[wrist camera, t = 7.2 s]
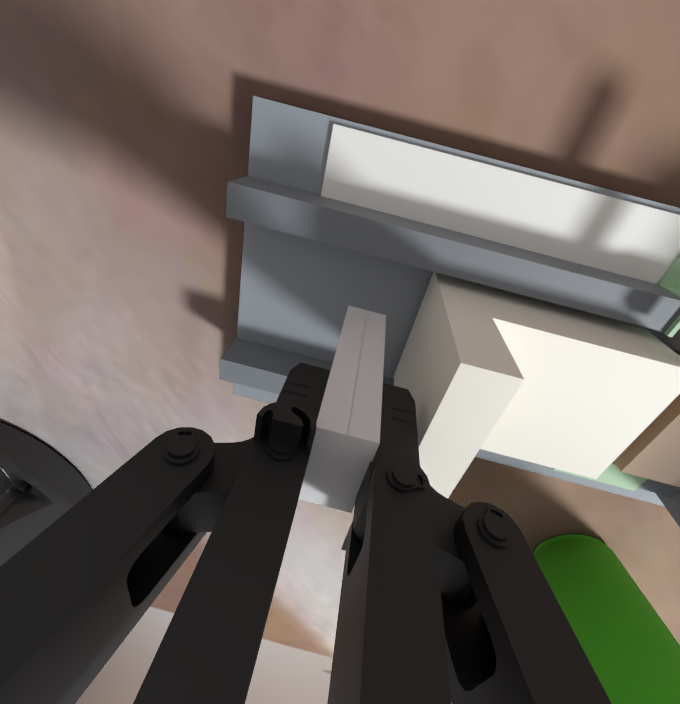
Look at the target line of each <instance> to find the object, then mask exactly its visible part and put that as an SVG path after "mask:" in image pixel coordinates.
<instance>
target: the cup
mask: <svg viewBox="0 0 680 704" xmlns="http://www.w3.org/2000/svg"><path fill="white" fill-rule="evenodd" d="M534 557H535V559H536V561H537V563H538V565H539V567H540V569H541V570H542V572H543V574H544V576H545V578H546V580H547V582H548V584H549V586H550V587H551V589H552V591H553V593H554V595H555V597H556V599H557V601H558V603H559V605H560V606H561V608H562V610H563V612H564V614H565V616H566V618H567V620H568V622H569V624H570V625H571V627H572V629H573V631H574V633H575V635H576V637H577V639H578V641H579V643H580V644H581V646H582V648H583V650H584V652H585V654H586V656H587V658H588V660H589V662H590V663H591V665H592V667H593V669H594V671H595V673H596V675H597V677H598V679H599V681H600V682H601V684H602V686H603V688H604V690H605V692H606V694H607V696H608V698H609V700H610V701H611V703H612V704H680V645H679V644H678V642H677V641H676V639H675V638H674V637H673V635H672V634H671V632H670V631H669V630H668V628H667V627H666V625H665V624H664V623H663V621H662V620H661V618H660V617H659V616H658V614H657V613H656V611H655V610H654V609H653V607H652V606H651V604H650V603H649V601H648V600H647V599H646V597H645V596H644V594H643V593H642V592H641V590H640V589H639V587H638V586H637V585H636V583H635V582H634V580H633V579H632V578H631V576H630V575H629V573H628V572H627V571H626V569H625V568H624V566H623V565H622V563H621V562H620V561H619V559H618V558H617V556H616V555H615V554H614V552H613V551H612V550H611V549H610V548H608V547H607V546H606V545H605V544H604V543H603V542H602V541H600V540H599V539H596V538H593V537H590V536H586V535H576V534H571V535H561V536H556V537H553V538H550V539H547V540H545V541H544V542H542V543H540V544H539V545H538V546H537V547H536V549H535V550H534Z"/></svg>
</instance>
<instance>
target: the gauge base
mask: <svg viewBox="0 0 680 704" xmlns="http://www.w3.org/2000/svg"><path fill="white" fill-rule="evenodd" d="M226 217H227V218H231V219H235V220H239V221H242V222H245V224H244V239H243V254H242V268H241V283H240V298H239V313H238V328H237V338H236V339H235V341H234V342H233V343H232V344H231V346H230V347H229V348H228V350H227V351H226V352H225V353H224V355H223V356H222V357H221V359H220V379H222V380H225V381H229V382H233V383H234V387H233V394H236V395H240V396H244V397H248V398H251V399H255V400H259V401H263V402H267V403H274V402H276V401H277V399H278V396H279V394H280V392H281V390H282V387H283V385H284V383H285V381H286V378H287V376H288V374H289V372H290V370H291V369H292V368H294V367H295V366H296V365H298V364H299V363H300V362H302V363H305V364H309V365H313V366H317V367H321V368H324V369H328V370H331V367H332V364H333V360H334V356H335V353H336V349H337V346H338V342H339V338H340V335H341V331H342V327H343V324H344V320H345V316H346V313H347V309H348V305H349V306H353V307H356V308H360V309H364V310H368V311H372V312H375V313H379V314H383V315H386V330H385V349H384V369H383V383H386V384H390V385H393V386H394V374H395V372H396V369H397V366H398V364H399V361H400V358H401V356H402V353H403V351H404V348H405V345H406V343H407V340H408V337H409V335H410V332H411V330H412V327H413V324H414V322H415V319H416V317H417V314H418V311H419V309H420V306H421V303H422V301H423V298H424V296H425V293H426V290H427V288H428V285H429V283H430V280H431V277H432V275H433V272H437V273H441V274H444V275H448V276H452V277H456V278H460V279H463V280H467V281H471V282H475V283H479V284H482V285H486V286H490V287H494V288H498V289H501V290H505V291H509V292H513V293H517V294H521V295H524V296H528V297H532V298H536V299H540V300H543V301H547V302H551V303H555V304H559V305H562V306H566V307H570V308H574V309H578V310H581V311H585V312H589V313H593V314H597V315H600V316H604V317H608V318H612V319H616V320H620V321H623V322H627V323H631V324H635V325H639V326H642V327H643V328H645V329H646V330H647V331H649V332H650V333H651V334H652V335H654V336H655V337H656V338H657V339H659V340H660V341H661V342H663V343H664V344H665V345H666V346H668V347H669V348H671V349H675V350H677V349H676V348H675V347H673V346H672V345H671V344H669V343H668V341H669V340H670V339H671V338H672V337H673V336H674V334H675V333H676V332H677V331H678V330H679V329H680V208H678V207H674V206H670V205H666V204H662V203H659V202H655V201H651V200H647V199H643V198H640V197H636V196H632V195H628V194H624V193H621V192H617V191H613V190H609V189H605V188H602V187H598V186H594V185H590V184H587V183H583V182H579V181H575V180H571V179H568V178H564V177H560V176H556V175H552V174H549V173H545V172H541V171H537V170H533V169H530V168H526V167H522V166H518V165H514V164H511V163H507V162H503V161H499V160H495V159H492V158H488V157H484V156H480V155H477V154H473V153H469V152H465V151H461V150H458V149H454V148H450V147H446V146H442V145H439V144H435V143H431V142H427V141H423V140H420V139H416V138H412V137H408V136H404V135H401V134H397V133H393V132H389V131H385V130H382V129H378V128H374V127H370V126H366V125H363V124H359V123H355V122H351V121H348V120H344V119H340V118H336V117H332V116H329V115H325V114H321V113H317V112H313V111H310V110H306V109H302V108H298V107H294V106H291V105H287V104H283V103H279V102H275V101H272V100H268V99H264V98H260V97H256V96H253V106H252V120H251V135H250V150H249V165H248V176H245V177H241V178H238V179H234V180H231V181H227V198H226ZM475 457H477V458H481V459H485V460H489V461H493V462H496V463H500V464H504V465H508V466H512V467H516V468H519V469H523V470H527V471H531V472H535V473H539V474H542V475H546V476H550V477H554V478H558V479H562V480H565V481H569V482H573V483H577V484H581V485H585V486H588V487H592V488H596V489H600V490H604V491H608V492H611V493H615V494H619V495H623V496H627V497H630V498H634V499H638V500H642V501H646V502H650V503H653V504H657V505H661V506H665V507H666V509H667V510H668V511H669V513H670V514H671V515H672V517H673V518H674V520H675V521H676V522H677V524H678V525H679V527H680V487H677V486H673V485H670V484H666V483H662V482H658V481H654V480H650V479H647V478H643V477H639V476H635V475H631V474H628V473H624V472H621V471H620V470H619V468H618V467H617V465H616V464H615V462H614V461H613V462H612V463H611V464H610V465H609V467H608V468H607V469H606V470H605V471H604V472H603V473H602V474H601V475H600V476H599V477H598V478H597V479H593V478H589V477H586V476H582V475H578V474H574V473H570V472H566V471H563V470H559V469H555V468H551V467H547V466H544V465H540V464H536V463H532V462H528V461H524V460H521V459H517V458H513V457H509V456H505V455H501V454H498V453H494V452H490V451H486V450H482V449H479V451H478V453H477V454H476V456H475Z"/></svg>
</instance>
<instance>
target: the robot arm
mask: <svg viewBox="0 0 680 704" xmlns="http://www.w3.org/2000/svg"><path fill="white" fill-rule="evenodd" d="M385 330H386V315H383V314H379V313H375V312H372V311H368V310H364V309H360V308H356V307H353V306H349V305H348V309H347V313H346V316H345V320H344V324H343V327H342V331H341V335H340V338H339V342H338V346H337V349H336V353H335V356H334V360H333V364H332V367H331V370H328V369H324V368H321V367H317V366H313V365H309V364H305V363H302V362H300V363H299V364H298V365H296V366H295V367H294V368H292V369H291V370H290V372H289V374H288V376H287V378H286V381H285V383H284V385H283V387H282V390H281V392H280V394H279V396H278V399H277V401H276V402H274V403H271V404H269V405H267V406H265V407H263V408H262V409H261V410H260V412H259V413H258V414H257V418H256V426H255V434H254V437H253V438H251V439H249V440H245V441H242V442H235V443H214V442H213V440H212V438H211V436H209V435H208V434H207V433H205V432H204V431H203V430H199V429H196V428H192V427H180V428H176V429H172V430H169V431H166V432H165V433H163V434H161V435H160V436H158V437H156V438H155V439H154V440H153V441H152V442H150V443H149V444H148V445H147V446H145V447H144V448H143V449H142V450H141V451H139V452H138V453H137V454H136V455H135V456H133V457H132V458H131V459H130V460H129V461H127V462H126V463H125V464H124V465H122V466H121V467H120V468H119V469H118V470H116V471H115V472H114V473H113V474H112V475H110V476H109V477H108V478H107V479H106V480H104V481H103V482H102V483H101V484H99V485H98V486H97V487H96V488H95V489H93V490H91V488H90V486H89V485H88V484H87V482H86V481H85V480H84V478H83V477H82V476H81V475H80V474H79V473H78V472H77V471H76V470H75V469H74V468H73V467H72V466H71V465H70V464H69V463H68V462H67V461H66V460H64V459H63V458H62V457H61V456H60V455H58V454H57V453H56V452H54V451H53V450H51V449H50V448H49V447H47V446H46V445H44V444H42V443H41V442H39V441H38V440H36V439H34V438H32V437H31V436H29V435H27V434H25V433H23V432H21V431H19V430H17V429H15V428H13V427H10V426H8V425H6V424H3V423H0V704H75V703H76V702H77V700H78V699H79V698H80V696H81V695H82V694H83V693H84V691H85V690H86V689H87V687H88V686H89V685H90V683H91V682H92V681H93V680H94V678H95V677H96V676H97V674H98V673H99V672H100V670H101V669H102V668H103V667H104V665H105V664H106V663H107V661H108V660H109V659H110V657H111V656H112V655H113V654H114V652H115V651H116V650H117V648H118V647H119V645H120V644H121V643H122V642H123V641H124V639H125V638H126V637H127V635H128V634H129V633H130V631H131V630H132V629H133V628H134V626H135V625H136V623H137V622H138V621H139V620H140V618H141V617H142V616H143V615H144V613H145V612H146V611H147V609H148V608H149V607H150V605H151V604H152V603H153V601H154V600H155V599H156V598H157V596H158V595H159V594H160V592H161V591H162V590H163V588H164V587H165V586H166V585H167V583H168V582H169V581H170V579H171V578H172V577H173V575H174V574H175V573H176V572H177V570H178V569H179V568H180V566H181V565H182V564H183V562H184V561H185V560H186V559H187V557H188V556H189V555H190V553H191V552H192V551H193V549H194V548H195V547H196V546H197V544H198V543H199V542H200V540H201V539H202V538H203V536H204V535H205V534H206V532H212V533H211V535H210V537H209V539H208V541H207V544H206V546H205V548H204V550H203V552H202V555H201V557H200V559H199V561H198V563H197V565H196V568H195V570H194V572H193V574H192V576H191V579H190V581H189V583H188V585H187V587H186V590H185V592H184V594H183V596H182V598H181V600H180V603H179V605H178V607H177V609H176V611H175V614H174V616H173V618H172V620H171V622H170V624H169V627H168V629H167V631H166V633H165V635H164V638H163V640H162V642H161V644H160V646H159V648H158V651H157V653H156V655H155V657H154V659H153V662H152V664H151V666H150V669H149V670H148V673H147V675H146V677H145V679H144V681H143V683H142V686H141V688H140V690H139V692H138V694H137V697H136V699H135V701H134V703H133V704H245V700H246V697H247V693H248V689H249V685H250V682H251V678H252V674H253V670H254V666H255V663H256V659H257V655H258V651H259V647H260V643H261V640H262V636H263V632H264V628H265V625H266V621H267V617H268V613H269V609H270V606H271V602H272V598H273V594H274V590H275V586H276V583H277V579H278V575H279V571H280V567H281V564H282V560H283V556H284V552H285V548H286V545H287V541H288V537H289V533H290V529H291V526H292V522H293V518H294V514H295V510H296V506H297V503H298V499H300V500H304V501H308V502H312V503H316V504H320V505H323V506H327V507H331V508H335V509H339V510H343V511H346V512H350V513H351V512H352V510H353V507H354V505H355V509H354V518H353V522H352V524H351V526H350V529H349V531H348V533H347V536H346V538H345V540H344V543H343V546H342V550H346V555H345V563H344V572H343V580H342V588H341V596H340V605H339V613H338V621H337V630H336V638H335V646H334V654H333V663H332V671H331V680H330V688H329V697H328V704H451V702H452V704H612V703H611V701H610V700H609V698H608V696H607V694H606V692H605V690H604V688H603V686H602V684H601V682H600V681H599V679H598V677H597V675H596V673H595V671H594V669H593V667H592V665H591V663H590V662H589V660H588V658H587V656H586V654H585V652H584V650H583V648H582V646H581V644H580V643H579V641H578V639H577V637H576V635H575V633H574V631H573V629H572V627H571V625H570V624H569V622H568V620H567V618H566V616H565V614H564V612H563V610H562V608H561V606H560V605H559V603H558V601H557V599H556V597H555V595H554V593H553V591H552V589H551V587H550V586H549V584H548V582H547V580H546V578H545V576H544V574H543V572H542V570H541V569H540V567H539V565H538V563H537V561H536V559H535V557H534V555H533V553H532V551H531V550H530V548H529V546H528V544H527V542H526V540H525V538H524V536H523V534H522V532H521V531H520V529H519V528H518V526H517V525H516V523H515V522H514V521H513V519H512V518H511V517H509V516H508V515H507V514H506V513H505V512H504V511H503V510H501V509H499V508H497V507H496V506H494V505H492V504H489V503H484V502H475V503H471V504H470V505H469V506H468V507H467V508H464V507H462V506H460V505H458V504H456V503H455V502H453V501H451V500H449V499H448V498H446V497H444V496H443V495H441V494H440V493H438V492H437V491H436V490H435V489H434V488H433V487H432V486H430V483H429V480H428V477H427V475H426V474H425V473H424V471H423V470H422V468H421V467H420V460H419V446H418V432H417V426H416V425H417V419H416V405H415V400H414V399H413V397H412V395H411V393H410V392H409V390H408V389H405V388H401V387H397V386H393V385H390V384H386V383H383V369H384V349H385Z"/></svg>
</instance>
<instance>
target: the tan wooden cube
mask: <svg viewBox="0 0 680 704" xmlns="http://www.w3.org/2000/svg"><path fill="white" fill-rule="evenodd" d="M670 349H671V348H670ZM671 350H673V351H674V352H675V353H677V354H678V355H679V356H680V351H679V350H675V349H671ZM614 462H615V464H616V465H617V467H618V468H619V470H620V471H621V472H624V473H628V474H631V475H635V476H639V477H643V478H647V479H650V480H654V481H658V482H662V483H666V484H670V485H673V486H677V487H680V394H679V395H678V396H677V397H676V398H675V399H674V400H673V401H672V402H671V403H670V404H669V405H668V406H667V407H666V408H665V409H664V410H663V411H662V412H661V413H660V414H659V415H658V417H657V418H656V419H655V420H654V421H653V422H652V423H651V424H650V425H649V426H648V427H647V428H646V429H645V430H644V431H643V432H642V433H641V434H640V435H639V436H638V437H637V438H636V439H635V440H634V441H633V442H632V443H631V444H630V445H629V446H628V447H627V448H626V449H625V450H624V451H623V452H622V453H621V454H620V455H619V456H618V457H617V458H616V459H615V460H614Z"/></svg>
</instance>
